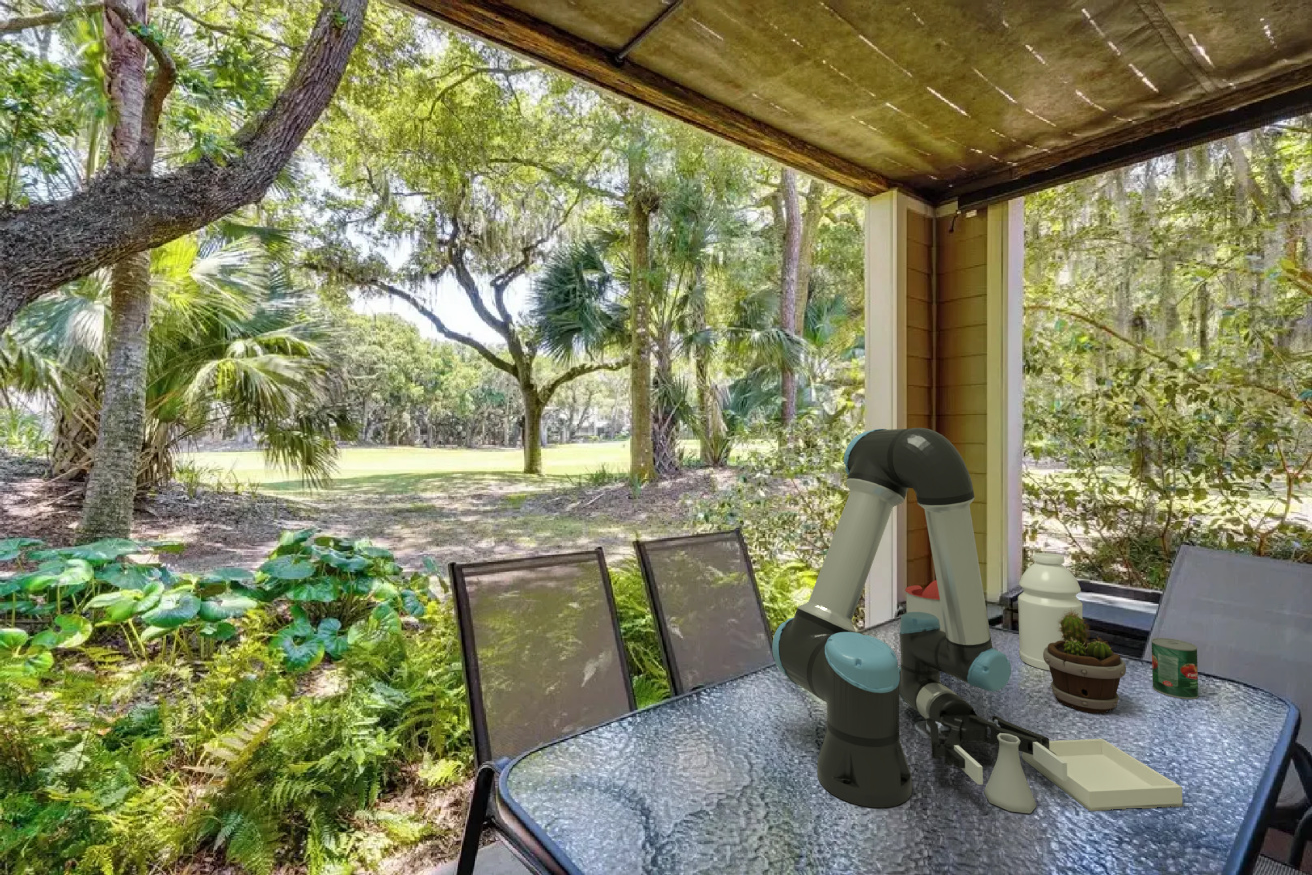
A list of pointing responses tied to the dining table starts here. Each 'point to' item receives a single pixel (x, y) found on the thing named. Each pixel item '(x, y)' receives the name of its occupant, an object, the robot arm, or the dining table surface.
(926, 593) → the citrus juicer
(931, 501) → the robot arm
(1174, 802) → the box
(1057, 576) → the bottle
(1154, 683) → the canned tomato
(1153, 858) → the dining table surface
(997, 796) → the flask
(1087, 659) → the flowerpot
